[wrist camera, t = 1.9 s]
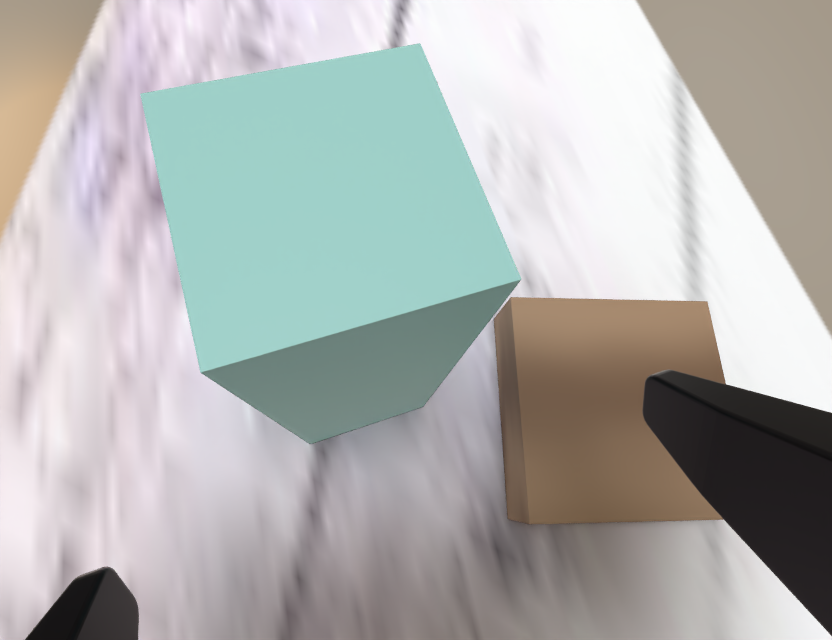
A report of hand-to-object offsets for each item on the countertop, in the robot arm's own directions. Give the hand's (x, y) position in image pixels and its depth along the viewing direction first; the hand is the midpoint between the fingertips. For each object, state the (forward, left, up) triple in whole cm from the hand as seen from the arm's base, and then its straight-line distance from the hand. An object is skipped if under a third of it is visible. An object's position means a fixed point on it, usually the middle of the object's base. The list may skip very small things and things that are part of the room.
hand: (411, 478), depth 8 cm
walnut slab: (+5, -7, -11) cm, 15 cm away
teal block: (+3, +3, -11) cm, 12 cm away
